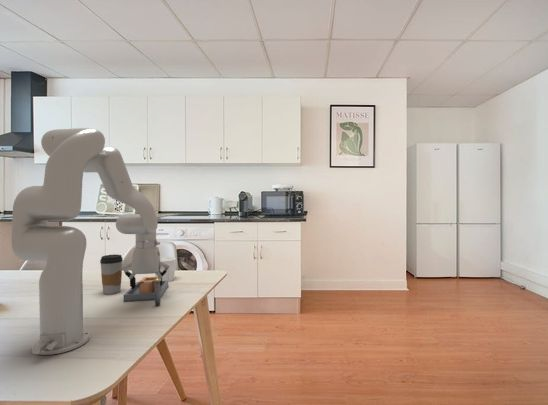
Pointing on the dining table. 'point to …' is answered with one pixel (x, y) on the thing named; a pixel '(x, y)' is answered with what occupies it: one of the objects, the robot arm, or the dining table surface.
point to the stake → (157, 291)
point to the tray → (136, 296)
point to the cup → (171, 270)
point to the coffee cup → (111, 273)
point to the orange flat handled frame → (147, 285)
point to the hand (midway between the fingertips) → (146, 287)
